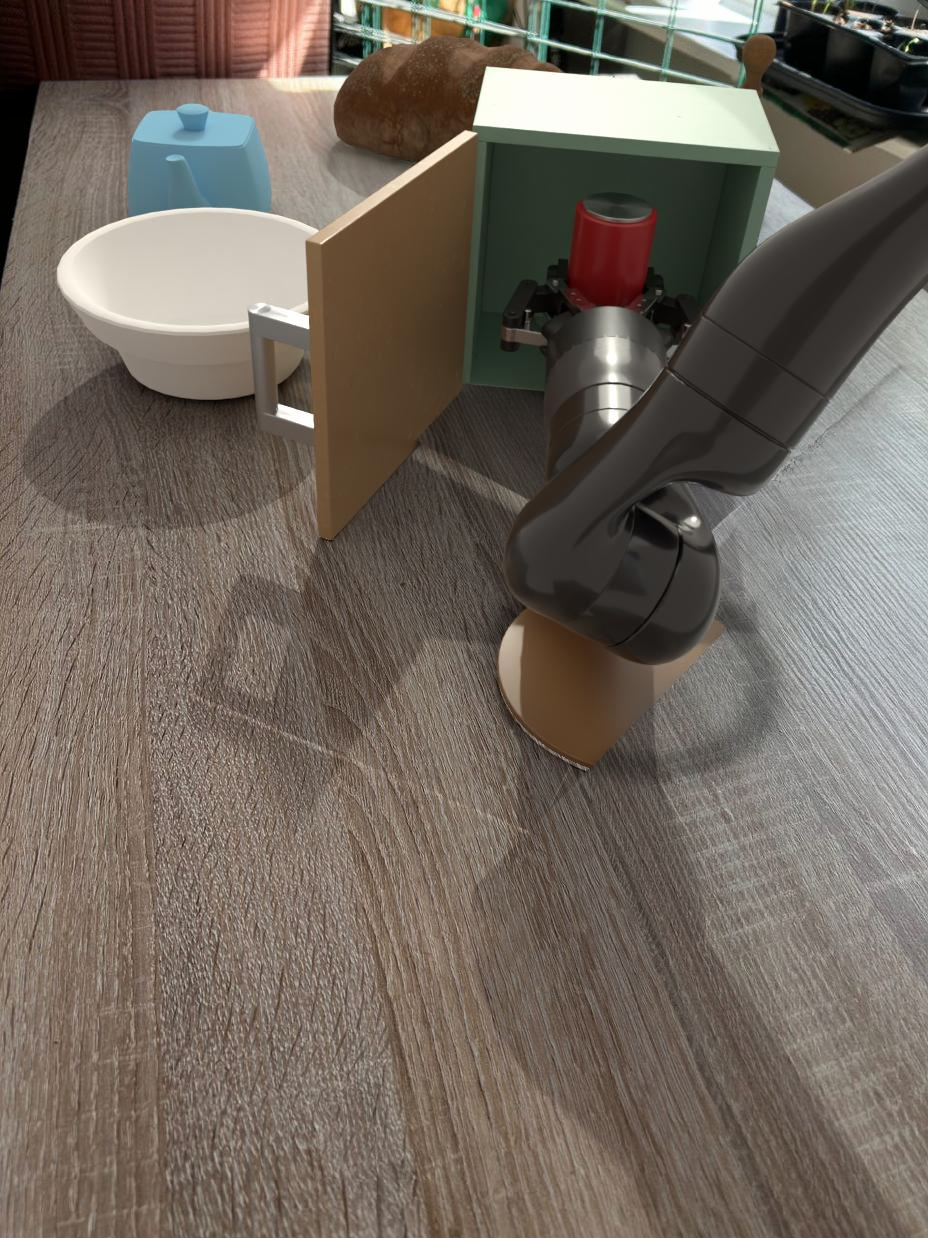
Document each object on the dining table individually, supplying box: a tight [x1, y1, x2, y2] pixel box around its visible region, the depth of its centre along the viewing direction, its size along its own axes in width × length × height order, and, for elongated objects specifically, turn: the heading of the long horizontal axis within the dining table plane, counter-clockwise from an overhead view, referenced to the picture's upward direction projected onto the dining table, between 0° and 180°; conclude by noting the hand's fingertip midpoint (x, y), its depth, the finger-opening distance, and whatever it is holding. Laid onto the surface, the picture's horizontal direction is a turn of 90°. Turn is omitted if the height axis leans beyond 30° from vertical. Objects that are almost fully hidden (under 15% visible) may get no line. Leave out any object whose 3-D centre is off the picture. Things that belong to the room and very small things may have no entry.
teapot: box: [127, 103, 273, 218], centre depth 96 cm, size 12×18×12 cm
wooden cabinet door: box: [248, 130, 478, 541], centre depth 69 cm, size 6×20×20 cm, turn 155°
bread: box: [332, 35, 565, 163], centre depth 118 cm, size 16×29×11 cm, turn 85°
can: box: [567, 192, 657, 307], centre depth 75 cm, size 5×5×14 cm
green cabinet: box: [462, 67, 781, 392], centre depth 81 cm, size 13×20×20 cm, turn 85°
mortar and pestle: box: [738, 33, 777, 100], centre depth 103 cm, size 7×6×18 cm
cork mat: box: [496, 607, 728, 769], centre depth 61 cm, size 15×15×1 cm
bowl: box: [56, 208, 320, 401], centre depth 81 cm, size 21×21×8 cm
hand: (603, 275), depth 76 cm, fingers closed on can, 5 cm apart
